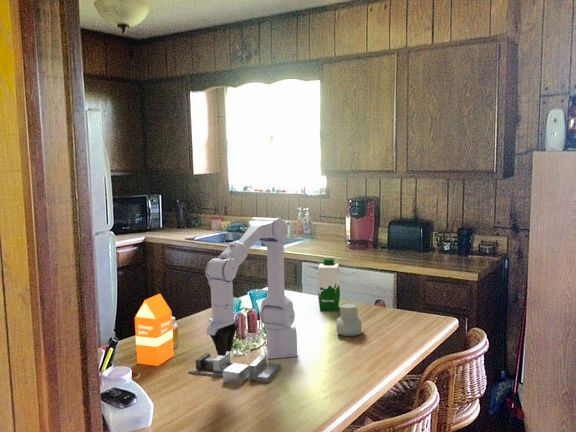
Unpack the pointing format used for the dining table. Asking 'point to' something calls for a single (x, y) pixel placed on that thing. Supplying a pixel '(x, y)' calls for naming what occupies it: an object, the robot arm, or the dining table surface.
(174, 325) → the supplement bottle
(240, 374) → the steel block
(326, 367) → the dining table surface
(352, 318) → the air freshener
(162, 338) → the orange juice
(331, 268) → the milk carton
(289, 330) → the robot arm
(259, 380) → the vise base
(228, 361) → the free jaw
